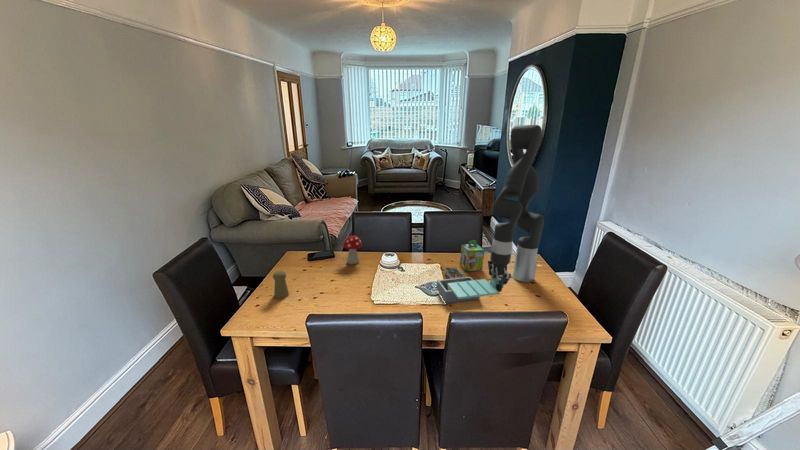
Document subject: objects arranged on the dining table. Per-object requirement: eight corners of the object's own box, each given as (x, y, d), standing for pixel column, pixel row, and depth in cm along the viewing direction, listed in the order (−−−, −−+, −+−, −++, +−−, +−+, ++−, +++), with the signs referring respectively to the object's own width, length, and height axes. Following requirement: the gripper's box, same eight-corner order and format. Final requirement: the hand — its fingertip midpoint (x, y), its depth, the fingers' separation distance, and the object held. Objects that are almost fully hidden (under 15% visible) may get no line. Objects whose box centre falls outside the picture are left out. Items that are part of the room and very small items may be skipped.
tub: (469, 288, 149) (470, 276, 148) (479, 299, 140) (480, 287, 138) (436, 292, 146) (437, 280, 144) (444, 304, 136) (445, 291, 134)
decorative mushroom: (359, 257, 178) (359, 232, 173) (364, 264, 171) (364, 237, 166) (341, 260, 174) (340, 234, 169) (346, 267, 167) (345, 240, 162)
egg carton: (464, 282, 155) (465, 275, 154) (449, 283, 154) (450, 275, 153) (457, 272, 165) (458, 264, 164) (443, 272, 164) (443, 265, 163)
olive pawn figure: (280, 300, 137) (277, 277, 133) (271, 296, 140) (268, 273, 136) (292, 294, 141) (289, 271, 138) (282, 290, 144) (280, 267, 141)
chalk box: (466, 272, 165) (468, 245, 160) (459, 264, 173) (461, 238, 168) (482, 270, 167) (485, 244, 162) (475, 263, 175) (477, 237, 170)
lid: (494, 279, 136) (495, 272, 135) (508, 292, 126) (509, 285, 125) (447, 284, 131) (447, 277, 130) (458, 299, 121) (459, 291, 120)
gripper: (520, 256, 120) (514, 297, 126) (500, 242, 133) (495, 280, 139) (502, 258, 118) (496, 299, 124) (483, 243, 131) (479, 282, 137)
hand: (496, 289), depth 131 cm, fingers closed on lid, 3 cm apart
